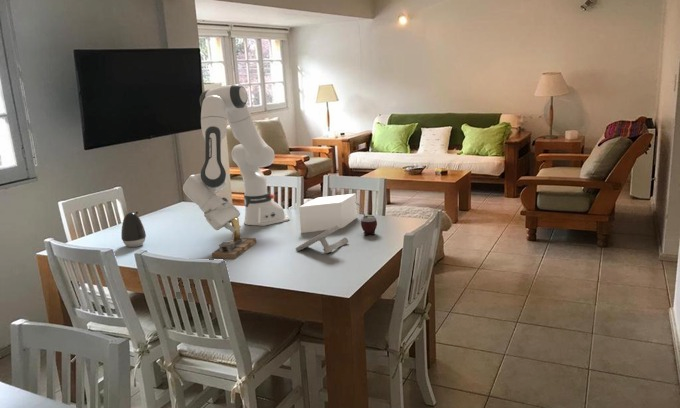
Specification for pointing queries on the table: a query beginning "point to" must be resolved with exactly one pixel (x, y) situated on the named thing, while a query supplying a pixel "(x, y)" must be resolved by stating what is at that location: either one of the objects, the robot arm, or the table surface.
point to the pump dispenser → (132, 230)
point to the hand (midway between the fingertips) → (237, 229)
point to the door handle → (324, 241)
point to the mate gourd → (368, 223)
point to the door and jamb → (233, 248)
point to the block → (328, 212)
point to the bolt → (237, 233)
